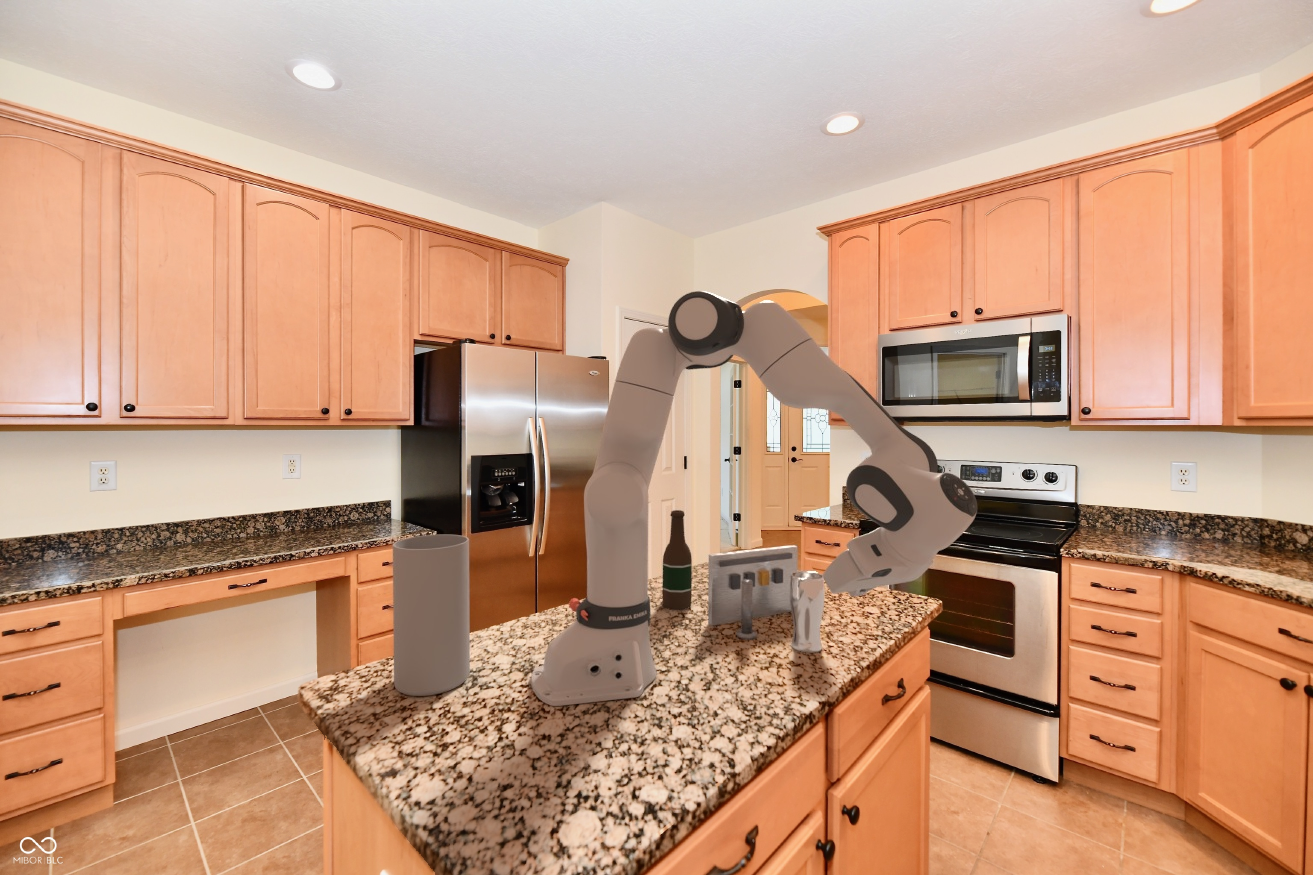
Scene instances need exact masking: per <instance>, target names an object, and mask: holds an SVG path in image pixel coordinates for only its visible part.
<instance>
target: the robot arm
mask: <svg viewBox="0 0 1313 875" xmlns="http://www.w3.org/2000/svg"><path fill="white" fill-rule="evenodd" d="M667 326H668V327H667V328H663V329H661V328H657V327H647V328H642V329H640V330H637V331H636V332H634V334H632V336H631V338H630V340H629V342H628V345H627V347H626V348H625V351H624V354H623V356H622V358H621V361H620V363H619V367H618V369H617V372H616V378H615V380H614V383H613V388H612V391H611V394H610V399H609V402H608V406H607V411H606V415H605V418H604V423H603V425H602V426H603V428H602V432H601V438H600V442H599V447H598V450H597V455H596V456H597V457H596V461H595V464H594V468H593V472H592V475H591V476H590V477H589V479H588V481H587V483H586V485H585V487H584V492H583V505H584V507H583V510H584V511H583V512H584V514H583V515H584V531H585V532H584V533H585V543H586V544H585V545H586V546H585V547H586V568H587V569H586V594H587V595H586V597H585V598H584V599H583V600H582V601H581V602H580V600H579V599H578V598H576V597H574V598H571V599H570V601H569V602H568V607H569V608H570V609H571V611H572V612H574V613H576V619H575V621H573V622H571V624H570V625H569V626H568V627H567V628H565V629H564V630H562V631H561V632H560V633H559V634H558V635H557V636H556V637H555V638H553V639H552V640H551V641H550V642H549V644H548V645H547V648H546V651H545V655H544V662H543V665H540V666H537V667H535V668H534V669H533V671H532V674H531V677H530V678H531V679H530V685H531V689H532V691H533V692H534V694H535V696H536V697H537V698H538V699H539V700H540V701H541V702H543V703H544V704H547V705H549V706H552V707H560V706H570V705H577V704H588V703H595V702H605V701H614V700H622V699H631V698H637V697H640V696H641V695H643V693H644V689H646V687H647V686H648V685H649V684H651V683H652V682H653V681H655V678H656V677H657V670H656V665H655V662H654V659H653V654H652V648H651V639H650V631H649V627H650V626H651V612H652V611H651V599H650V596H649V595H648V591H649V589H648V588H649V587H648V584H649V583H648V582H649V581H648V580H649V579H648V578H649V577H648V575H649V574H648V570H649V569H648V568H649V567H648V565H649V564H648V561H649V560H648V557H649V555H648V552H649V549H648V548H649V546H648V545H649V488H650V484H651V480H652V477H653V473H654V470H655V465H656V462H657V460H658V456H659V452H660V449H661V446H662V443H663V440H664V436H665V432H666V428H667V424H668V421H669V417H670V414H671V413H670V412H671V409H672V405H673V401H674V397H675V394H676V390H677V386H678V381H679V379H680V376H681V375H682V372H683V371H684V370H690V371H691V370H699V369H702V370H703V369H713V368H718V367H720V366H721V367H722V366H723V365H725V364H727V363H728V362H729V361H730V360H732V358H733V356H735V357H739V358H741V359H742V360H744V361H745V362H746V364H747V365H748V366H750V368H751V369H752V370H753V372H754V373H755V375H756V376H757V377H758V379H759V380H760V381H761V383H762V384H763V386H764V387H765V388H766V390H767V391H768V392H769V393H770V394H771V395H772V397H773V398H775V400H777V401H778V402H780V403H781V405H783V406H785V407H789V408H791V409H792V408H794V409H803V410H804V409H819V410H825V411H829V412H832V413H834V414H836V415H837V416H839V417H841V418H842V419H843V420H844V422H845V423H847V424H848V425H849V427H850V428H851V429H852V430H853V431H854V432H855V433H856V434H857V436H859V438H860V439H861V440H862V441H863V442H864V443H865V444H866V445H867V446H868V447H869V449H870V452H871V455H870V456H868V457H867V458H865V459H864V460H862V461H861V462H860V463H859V464H858V465H857V466H856V467H854V469H852V470H851V471H850V473H849V474H848V476H847V477H846V484H845V488H846V493H847V496H848V497H847V498H849V501H850V503H851V504H852V505H853V507H854V508H855V509H856V510H857V511H859V512H860V513H861V514H863V515H864V516H865V517H866V518H868V519H869V520H871V521H872V522H874V523H875V524H877V525H878V526H880V527H877V528H876V529H874V530H873V531H870V532H869V533H865V534H863V535H859V536H856V537H854V538H852V539H850V540H848V542H847V543H846V548H847V549H845V550H844V551H842V552H841V553H840V554H838V555H837V556H836V557H835V558H834V559H833V561H831V563H830V564H829V565H828V566H827V568H826V569H825V571H823V574H822V575H823V578H824V584H826V586H827V588H828V589H829V591H830V593H832V594H834V595H835V594H840V593H846V592H847V593H848V594H849V596H850V597H851V598H853V597H859V596H860V597H861V596H865V595H866V594H868V593H869V591H872V590H873V589H876V588H878V587H884V586H891V585H897V584H902V583H903V584H904V583H910V582H913V581H916V580H918V579H919V578H920V577H921V576H922V575H923V574H925V573H926V571H928V569H929V568H930V567H931V566H932V565H933V562H934V559H935V557H936V556H937V554H938V552H939V551H942V550H944V549H946V548H948V547H950V546H951V545H952V544H953V543H954V542H955V541H956V540H957V539H959V538H960V536H962V535H963V533H964V532H965V531H966V530H968V528H969V527H970V525H971V524H972V523H973V522H974V520H975V518H976V515H977V512H978V502H977V499H976V496H975V494H974V492H973V490H972V489H971V487H970V486H969V485H968V484H967V483H966V482H965V481H964V480H963V479H961V478H960V477H959V476H957V475H955V474H953V473H949V472H938V469H939V465H938V459H937V457H936V454H935V452H934V451H933V449H932V448H931V446H930V445H929V444H928V443H927V442H925V441H924V440H923V439H921V438H920V437H918V436H917V435H915V434H913V433H912V432H910V431H908V430H907V429H905V428H904V427H903V426H902V425H901V424H900V423H898V422H897V420H895V419H894V418H893V416H892V415H890V413H889V412H888V411H887V410H886V409H885V408H884V407H883V406H882V405H881V404H880V402H878V401H877V399H875V397H873V396H872V394H871V393H870V392H869V391H868V390H867V389H866V388H865V387H864V386H863V385H862V384H861V383H860V382H859V381H858V380H856V378H855V377H853V376H852V375H851V374H849V373H848V372H847V371H845V369H842V367H840V366H839V365H838V364H837V363H836V362H834V360H832V359H831V358H830V356H828V355H827V353H825V351H824V350H823V349H822V348H821V347H820V345H818V343H817V342H816V341H815V339H814V338H813V337H812V335H810V333H809V332H808V331H807V330H806V329H805V328H804V327H803V325H802V324H801V323H800V322H799V321H798V320H797V319H796V318H795V317H794V316H793V315H792V314H791V313H789V312H788V311H787V310H786V309H785V308H784V307H782V306H781V305H780V304H779V303H777V302H775V301H773V300H763V301H759V302H756V303H753V304H752V305H750V306H748V307H747V308H746V309H743V310H742V308H741V306H740V304H738V303H736V302H734V301H731V300H729V299H726V298H724V297H721V296H719V295H716V294H715V293H711V292H708V291H703V290H701V291H699V290H698V291H691V292H688V293H686V294H684V295H682V296H681V297H680V298H679V299H677V300H676V301H675V303H674V304H673V305H672V308H671V309H670V312H669V316H668V322H667Z"/></svg>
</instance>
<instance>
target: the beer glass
mask: <svg viewBox="0 0 1313 875" xmlns="http://www.w3.org/2000/svg"><path fill="white" fill-rule="evenodd" d="M825 590H826V589H825V580H824V578H823V574H822V573H821V572H816V571H811V570H797V571H795V572H792V573H791V581H790V606H791V612H790V613H791V619H792V624H793V631H792V633H793V634H792V637H791V643H790V645H791V647H792V648H793V649H794V650H796V651H798V652H800V651H801V653H805V652H806V654H814V653H815V652H816V653H819V652H820V651H822V648H823V645H822V639H821V625H822V619H823V613H824V608H825V600H826V599H825V598H826V597H825V594H826V593H825V592H826V591H825Z"/></svg>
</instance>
